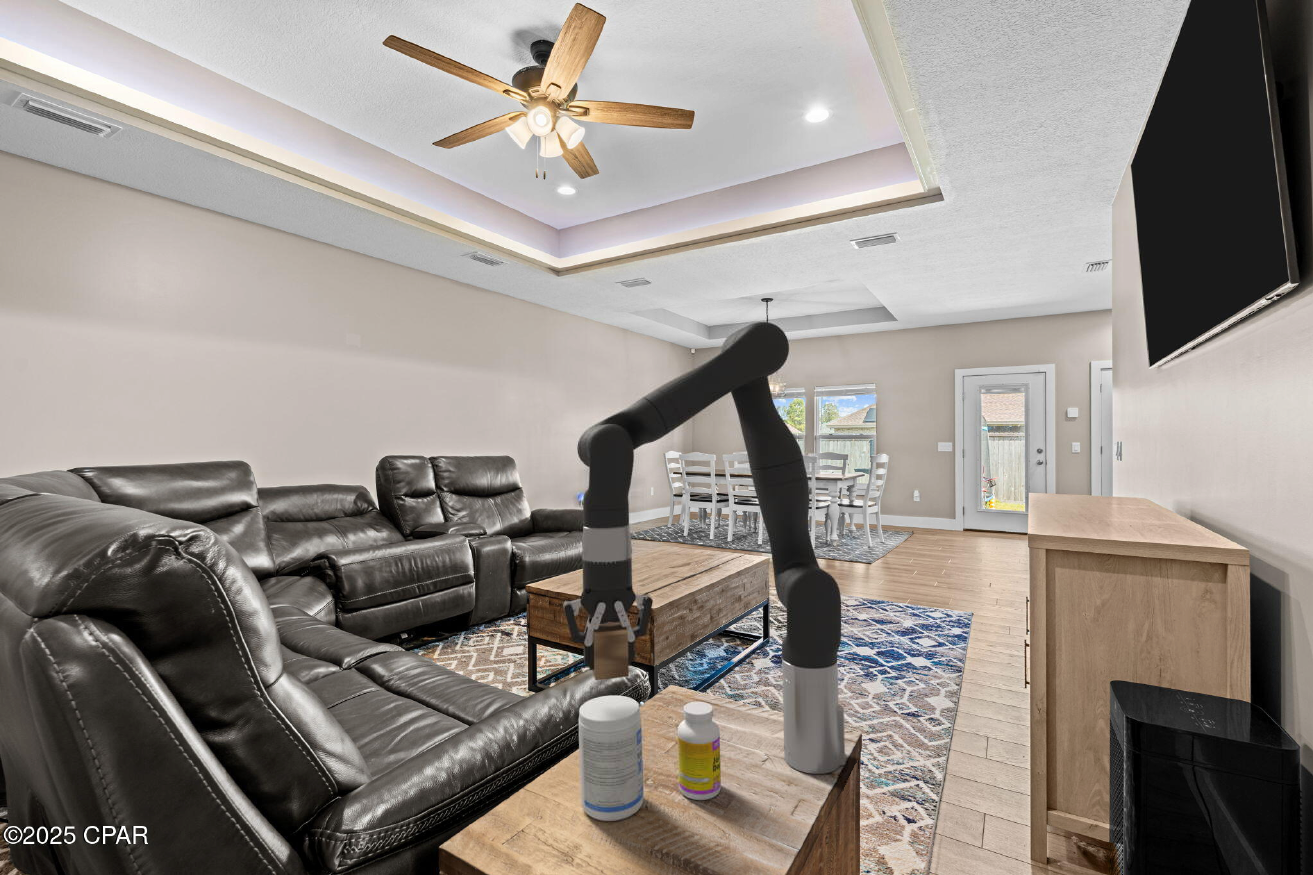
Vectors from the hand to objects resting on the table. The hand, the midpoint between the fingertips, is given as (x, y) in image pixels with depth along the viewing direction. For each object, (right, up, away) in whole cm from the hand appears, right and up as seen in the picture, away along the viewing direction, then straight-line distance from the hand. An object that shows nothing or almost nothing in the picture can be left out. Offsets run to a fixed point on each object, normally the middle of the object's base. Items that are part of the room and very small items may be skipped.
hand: (609, 665), depth 91 cm
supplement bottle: (+14, -21, +3) cm, 25 cm away
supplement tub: (0, -21, 0) cm, 21 cm away
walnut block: (0, -1, 0) cm, 1 cm away
